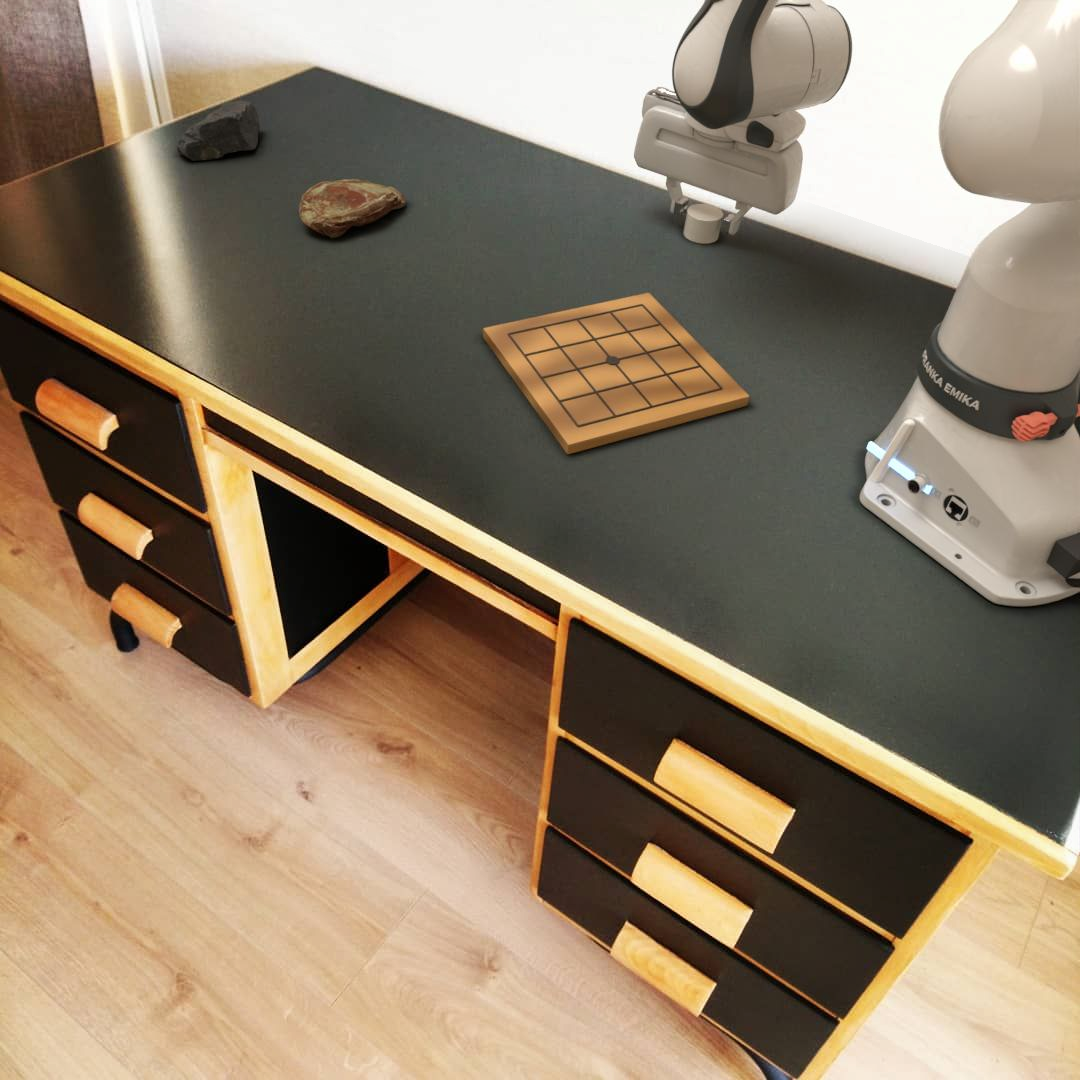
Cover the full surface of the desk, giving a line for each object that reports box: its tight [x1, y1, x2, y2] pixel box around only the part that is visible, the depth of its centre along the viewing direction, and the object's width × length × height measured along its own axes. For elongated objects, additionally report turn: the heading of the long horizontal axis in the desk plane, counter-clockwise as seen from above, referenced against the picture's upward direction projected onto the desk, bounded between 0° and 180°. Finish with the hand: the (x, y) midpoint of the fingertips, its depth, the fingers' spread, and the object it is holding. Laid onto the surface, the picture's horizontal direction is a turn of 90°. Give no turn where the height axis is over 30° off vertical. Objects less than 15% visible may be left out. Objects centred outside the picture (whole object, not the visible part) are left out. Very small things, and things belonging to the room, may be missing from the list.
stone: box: [298, 178, 407, 239], centre depth 114 cm, size 13×10×3 cm
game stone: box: [682, 203, 724, 244], centre depth 115 cm, size 4×4×3 cm
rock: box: [176, 100, 261, 162], centre depth 124 cm, size 10×6×10 cm
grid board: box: [482, 292, 750, 455], centre depth 95 cm, size 20×20×1 cm
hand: (703, 222), depth 115 cm, fingers open, 6 cm apart
